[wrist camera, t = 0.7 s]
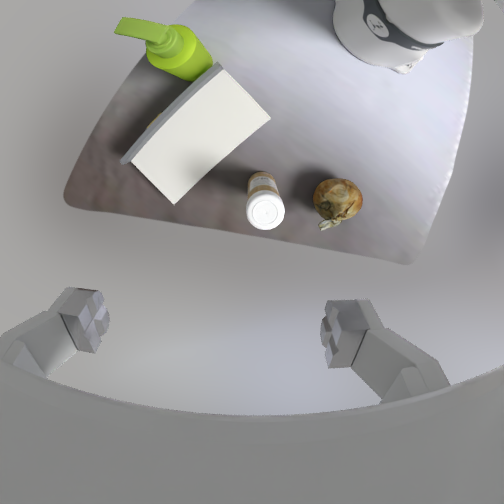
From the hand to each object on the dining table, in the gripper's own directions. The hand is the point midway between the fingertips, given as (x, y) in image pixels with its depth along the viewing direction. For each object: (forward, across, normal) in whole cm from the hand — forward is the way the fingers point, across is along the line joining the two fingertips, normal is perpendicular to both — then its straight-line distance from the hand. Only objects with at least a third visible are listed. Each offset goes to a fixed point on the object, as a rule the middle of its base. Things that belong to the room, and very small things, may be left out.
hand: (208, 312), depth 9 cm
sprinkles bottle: (+37, -3, +4) cm, 37 cm away
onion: (+37, -15, +6) cm, 40 cm away
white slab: (+36, +7, -4) cm, 37 cm away
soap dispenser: (+36, +8, -16) cm, 41 cm away
